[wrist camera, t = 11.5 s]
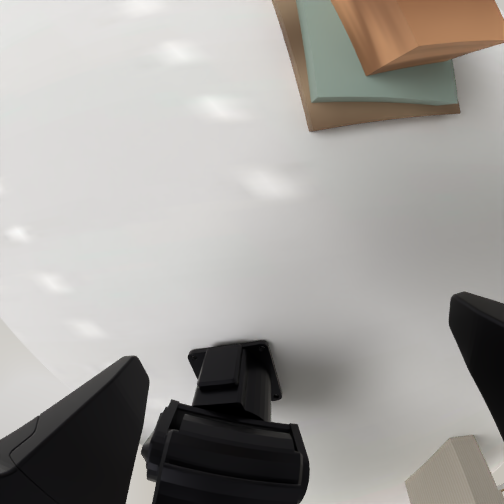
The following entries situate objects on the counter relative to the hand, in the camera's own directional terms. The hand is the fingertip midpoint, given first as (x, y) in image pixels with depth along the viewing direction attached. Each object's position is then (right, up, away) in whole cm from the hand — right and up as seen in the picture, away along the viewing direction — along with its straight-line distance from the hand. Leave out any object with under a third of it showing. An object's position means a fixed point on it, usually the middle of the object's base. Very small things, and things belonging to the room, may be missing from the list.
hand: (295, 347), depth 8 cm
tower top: (+6, +15, +6) cm, 17 cm away
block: (+6, +14, +4) cm, 16 cm away
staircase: (+26, -27, +23) cm, 44 cm away
